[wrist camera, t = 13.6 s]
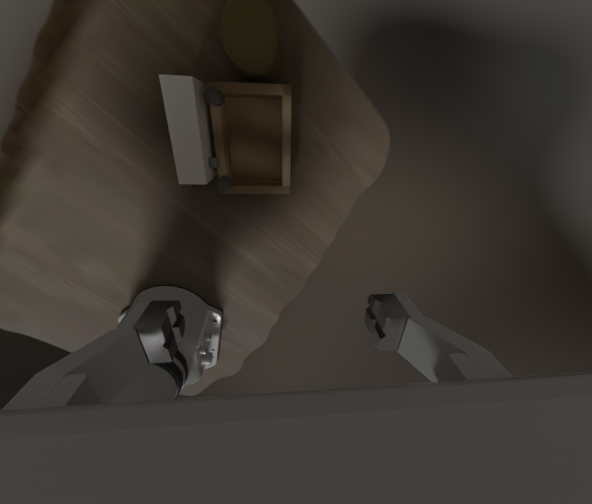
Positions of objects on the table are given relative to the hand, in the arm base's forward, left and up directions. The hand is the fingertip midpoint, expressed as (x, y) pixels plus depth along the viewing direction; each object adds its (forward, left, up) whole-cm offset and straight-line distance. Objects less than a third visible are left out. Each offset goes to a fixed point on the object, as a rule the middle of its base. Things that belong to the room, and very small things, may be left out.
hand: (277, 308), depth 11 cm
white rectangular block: (+6, +9, -29) cm, 31 cm away
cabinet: (+5, +5, -29) cm, 30 cm away
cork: (+14, +2, -29) cm, 33 cm away
